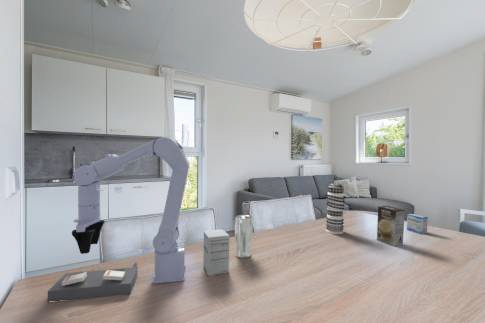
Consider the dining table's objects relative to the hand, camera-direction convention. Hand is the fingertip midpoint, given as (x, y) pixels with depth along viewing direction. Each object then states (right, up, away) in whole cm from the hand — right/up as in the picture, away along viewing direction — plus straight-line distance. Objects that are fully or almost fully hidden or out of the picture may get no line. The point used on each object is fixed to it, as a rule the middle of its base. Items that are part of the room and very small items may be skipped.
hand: (89, 248), depth 76 cm
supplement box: (+38, -10, +8) cm, 40 cm away
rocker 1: (+1, -6, -8) cm, 10 cm away
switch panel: (+4, -10, -1) cm, 11 cm away
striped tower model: (+96, -10, +52) cm, 109 cm away
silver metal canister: (+48, -10, +20) cm, 53 cm away
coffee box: (+115, -11, +38) cm, 122 cm away
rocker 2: (+11, -6, -6) cm, 13 cm away
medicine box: (+140, -11, +55) cm, 151 cm away
